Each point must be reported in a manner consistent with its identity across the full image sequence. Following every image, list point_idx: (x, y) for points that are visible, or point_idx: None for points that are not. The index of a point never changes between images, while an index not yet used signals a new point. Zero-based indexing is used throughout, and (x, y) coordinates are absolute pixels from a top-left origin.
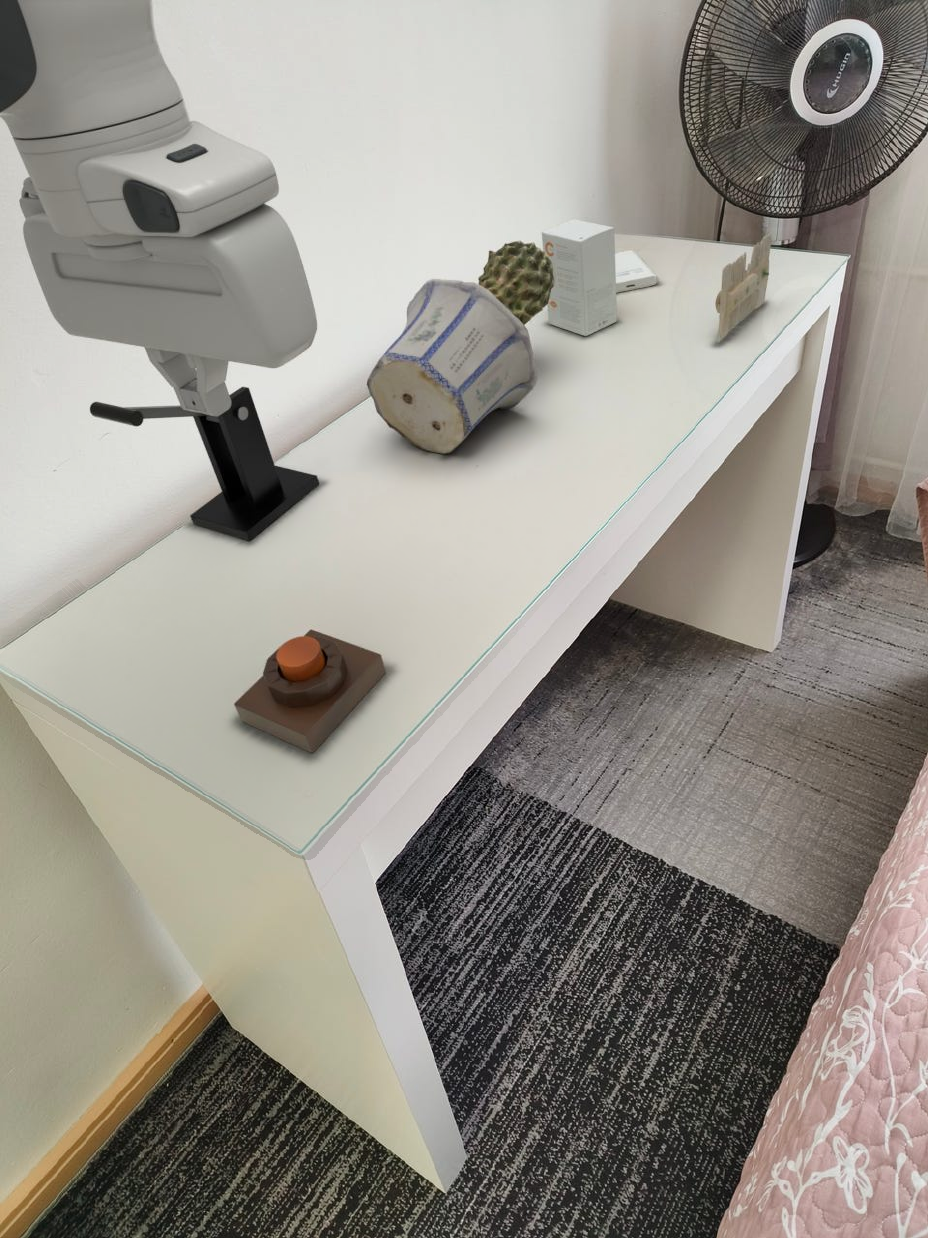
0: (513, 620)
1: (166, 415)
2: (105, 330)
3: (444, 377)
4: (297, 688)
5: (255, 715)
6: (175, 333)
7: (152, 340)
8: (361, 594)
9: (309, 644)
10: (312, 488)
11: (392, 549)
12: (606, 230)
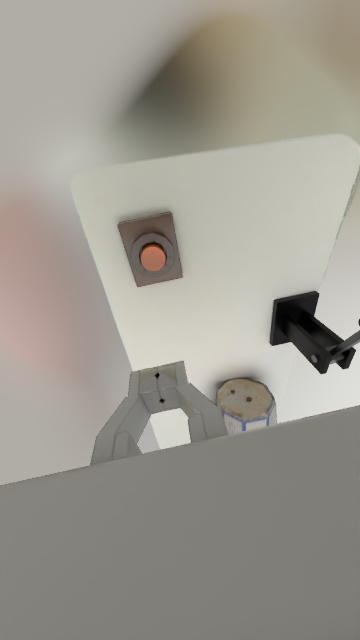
0: (120, 334)
1: (354, 335)
2: (308, 444)
3: (231, 417)
4: (138, 242)
5: (154, 216)
6: (80, 517)
7: (165, 469)
8: (191, 308)
9: (152, 266)
10: (270, 339)
11: (202, 333)
12: None
